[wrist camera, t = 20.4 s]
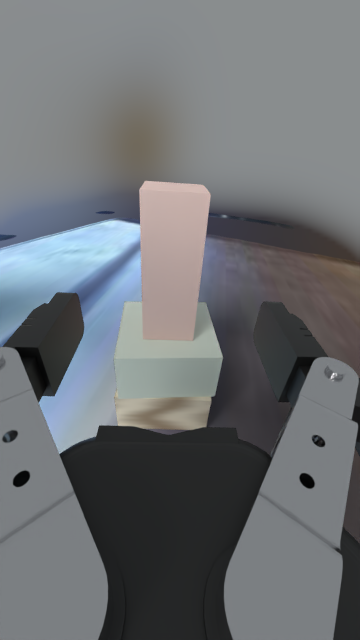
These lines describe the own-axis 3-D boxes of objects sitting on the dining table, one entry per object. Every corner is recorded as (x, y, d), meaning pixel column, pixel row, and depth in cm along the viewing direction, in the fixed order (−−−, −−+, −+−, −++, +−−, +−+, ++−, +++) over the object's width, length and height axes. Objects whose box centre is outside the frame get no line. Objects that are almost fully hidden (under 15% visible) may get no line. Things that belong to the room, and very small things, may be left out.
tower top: (118, 398, 23) (113, 358, 21) (127, 337, 31) (124, 301, 28) (214, 396, 24) (223, 357, 21) (201, 337, 32) (205, 302, 29)
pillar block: (142, 339, 23) (139, 189, 16) (146, 311, 26) (145, 180, 20) (193, 340, 23) (210, 194, 16) (189, 313, 27) (203, 185, 20)
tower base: (118, 428, 26) (114, 397, 24) (131, 365, 34) (129, 336, 31) (205, 431, 27) (211, 400, 24) (199, 368, 34) (203, 339, 31)
